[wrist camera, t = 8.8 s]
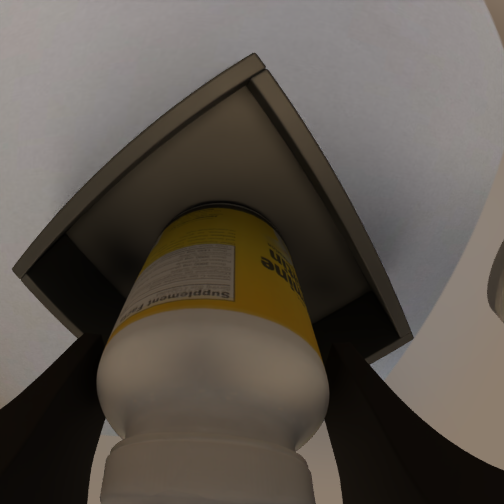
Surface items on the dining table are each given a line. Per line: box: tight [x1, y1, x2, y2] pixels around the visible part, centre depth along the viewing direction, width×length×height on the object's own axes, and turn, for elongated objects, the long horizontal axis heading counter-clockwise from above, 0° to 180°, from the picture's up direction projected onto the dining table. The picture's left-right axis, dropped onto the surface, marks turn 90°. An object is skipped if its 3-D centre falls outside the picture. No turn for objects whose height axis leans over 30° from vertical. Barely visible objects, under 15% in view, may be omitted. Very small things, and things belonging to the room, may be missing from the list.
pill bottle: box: [96, 203, 329, 504], centre depth 10 cm, size 6×6×12 cm
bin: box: [12, 53, 414, 367], centre depth 13 cm, size 13×12×4 cm
